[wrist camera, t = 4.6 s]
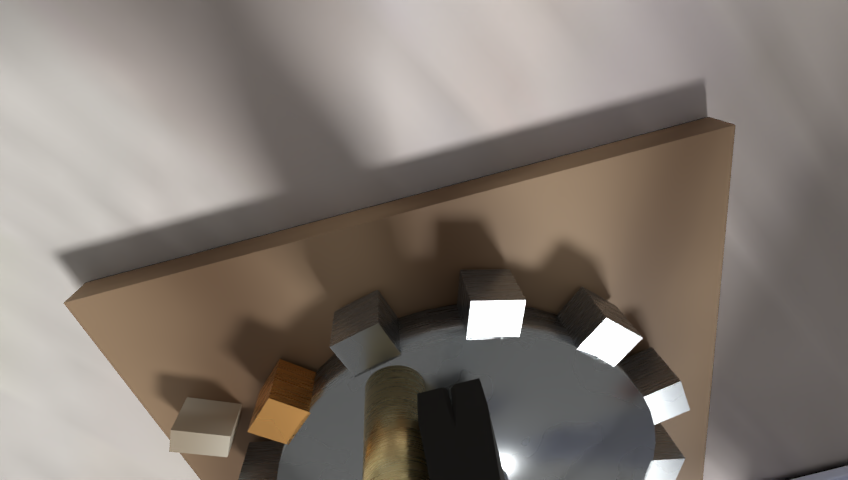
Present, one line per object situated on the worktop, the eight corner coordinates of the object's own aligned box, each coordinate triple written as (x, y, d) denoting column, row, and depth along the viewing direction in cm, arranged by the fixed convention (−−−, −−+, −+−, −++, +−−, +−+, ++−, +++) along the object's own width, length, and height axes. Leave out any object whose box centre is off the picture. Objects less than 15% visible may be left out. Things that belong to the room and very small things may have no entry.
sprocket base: (708, 116, 12) (773, 136, 10) (684, 500, 20) (717, 551, 18) (86, 282, 12) (31, 331, 10) (310, 592, 21) (304, 652, 19)
